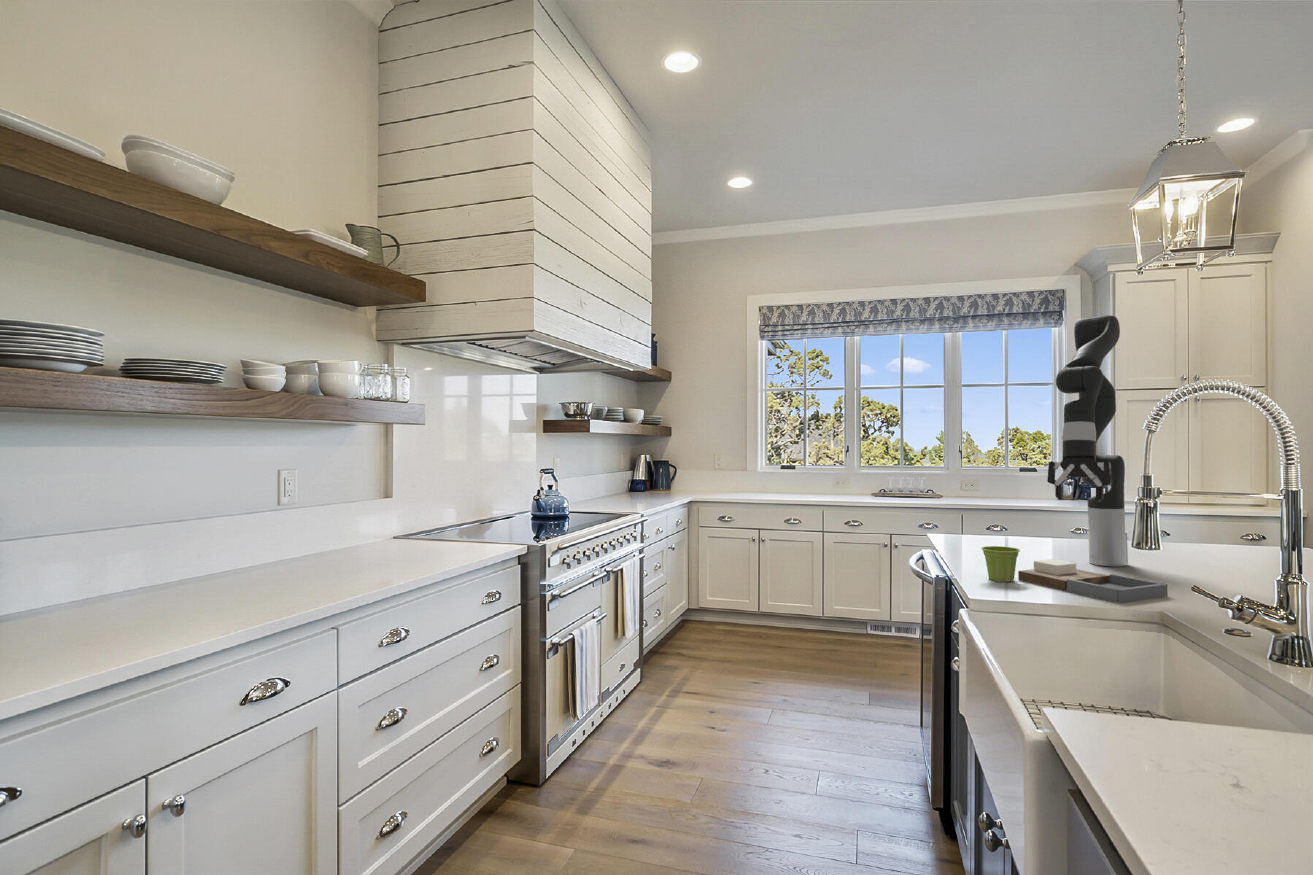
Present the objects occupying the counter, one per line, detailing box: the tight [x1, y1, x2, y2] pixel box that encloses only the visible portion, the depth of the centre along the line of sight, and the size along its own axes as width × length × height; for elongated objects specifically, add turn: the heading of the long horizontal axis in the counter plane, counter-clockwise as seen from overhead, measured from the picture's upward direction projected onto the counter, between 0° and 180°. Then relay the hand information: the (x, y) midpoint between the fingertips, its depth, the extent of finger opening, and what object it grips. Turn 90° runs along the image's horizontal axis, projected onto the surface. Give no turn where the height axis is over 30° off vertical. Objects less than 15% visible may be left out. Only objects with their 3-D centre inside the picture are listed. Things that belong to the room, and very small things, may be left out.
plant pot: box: [981, 545, 1021, 583], centre depth 178 cm, size 9×9×9 cm
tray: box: [1066, 573, 1169, 604], centre depth 160 cm, size 16×14×3 cm
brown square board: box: [1017, 568, 1110, 592], centre depth 174 cm, size 16×14×2 cm
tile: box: [1033, 559, 1077, 575], centre depth 176 cm, size 7×7×2 cm
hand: (1078, 500), depth 171 cm, fingers open, 8 cm apart
